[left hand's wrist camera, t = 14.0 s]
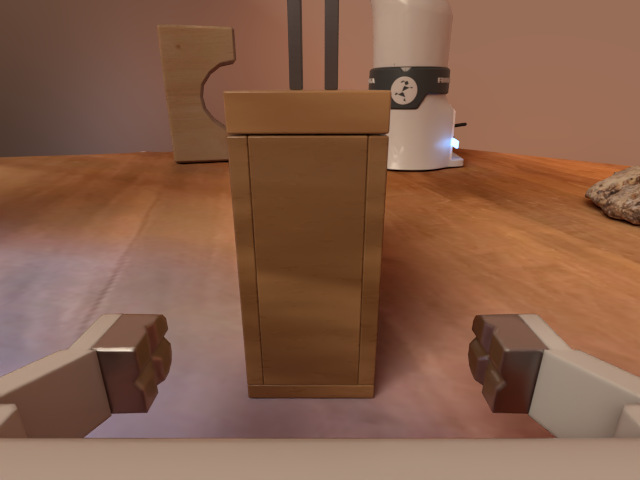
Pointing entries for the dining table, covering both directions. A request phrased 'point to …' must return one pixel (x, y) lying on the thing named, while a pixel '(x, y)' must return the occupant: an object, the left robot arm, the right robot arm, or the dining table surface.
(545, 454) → the left robot arm
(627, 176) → the rock
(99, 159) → the dining table surface
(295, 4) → the lid
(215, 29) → the decorative block
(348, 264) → the chest
